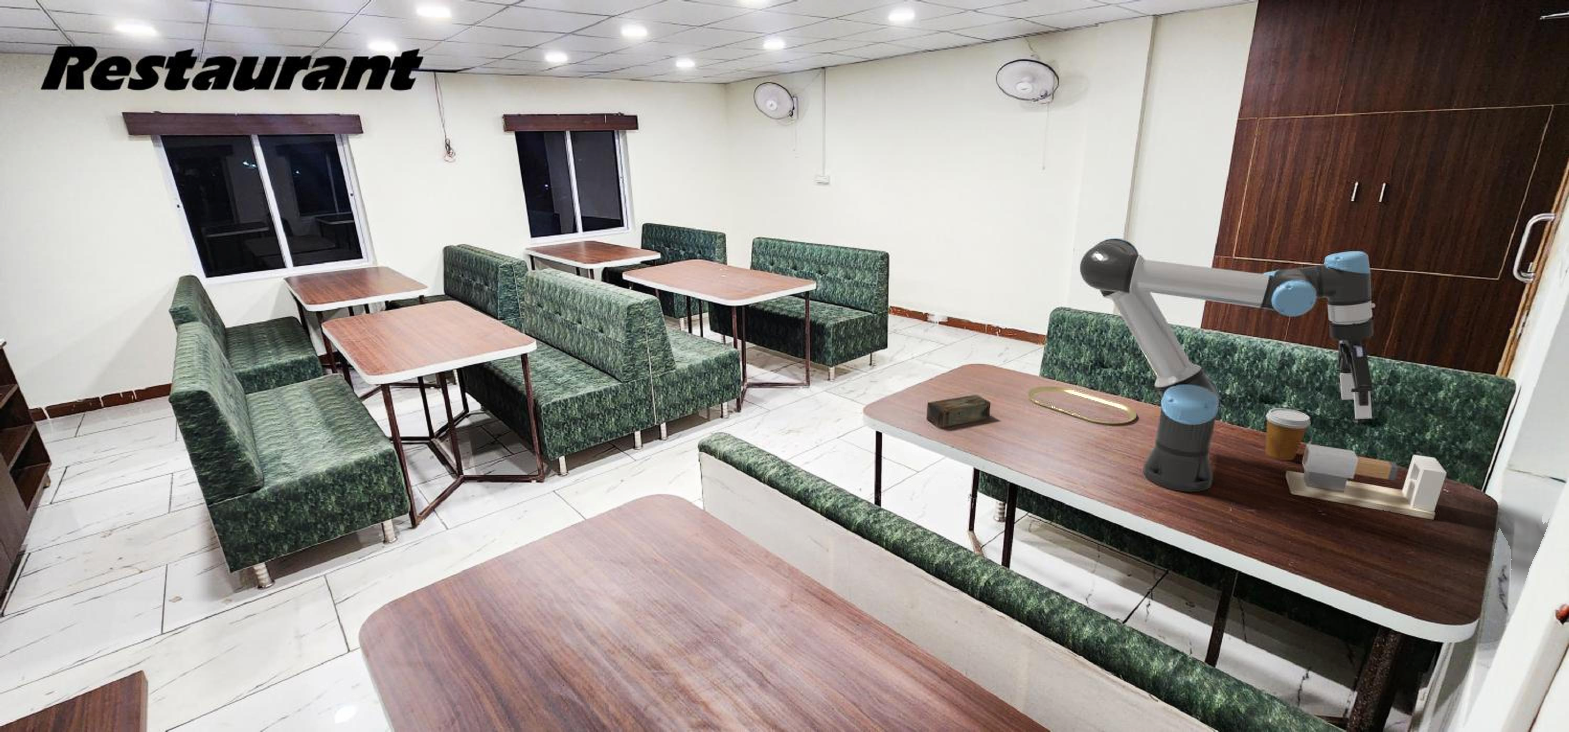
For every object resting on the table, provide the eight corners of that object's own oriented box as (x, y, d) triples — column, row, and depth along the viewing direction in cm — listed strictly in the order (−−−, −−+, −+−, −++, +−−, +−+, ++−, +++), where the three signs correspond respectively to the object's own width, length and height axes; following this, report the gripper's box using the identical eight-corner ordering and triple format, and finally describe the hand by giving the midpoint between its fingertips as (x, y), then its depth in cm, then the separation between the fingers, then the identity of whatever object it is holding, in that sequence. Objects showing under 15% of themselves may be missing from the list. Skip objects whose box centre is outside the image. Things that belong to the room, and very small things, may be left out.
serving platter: (1048, 386, 231) (1048, 382, 230) (1147, 416, 203) (1148, 411, 203) (1015, 399, 221) (1015, 394, 220) (1115, 432, 193) (1115, 427, 193)
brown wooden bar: (1310, 466, 156) (1313, 454, 155) (1308, 461, 158) (1311, 449, 157) (1394, 480, 148) (1398, 468, 147) (1391, 474, 151) (1394, 462, 150)
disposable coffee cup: (1309, 464, 170) (1319, 422, 166) (1268, 462, 172) (1277, 420, 168) (1290, 448, 179) (1299, 408, 175) (1251, 446, 180) (1260, 406, 177)
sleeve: (1301, 485, 157) (1309, 451, 154) (1298, 476, 161) (1306, 443, 158) (1348, 493, 153) (1358, 459, 150) (1344, 484, 157) (1353, 450, 154)
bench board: (1291, 493, 156) (1292, 488, 156) (1285, 475, 164) (1287, 470, 164) (1433, 519, 144) (1435, 513, 144) (1419, 498, 152) (1421, 493, 152)
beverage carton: (990, 419, 205) (992, 400, 203) (938, 429, 199) (939, 410, 197) (975, 410, 212) (976, 391, 210) (924, 420, 206) (925, 401, 204)
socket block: (1411, 507, 146) (1423, 469, 143) (1402, 491, 153) (1413, 454, 150) (1433, 511, 144) (1446, 472, 141) (1423, 495, 151) (1434, 457, 148)
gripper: (1388, 330, 135) (1393, 425, 139) (1358, 307, 156) (1363, 390, 159) (1341, 335, 139) (1347, 427, 143) (1318, 311, 160) (1324, 392, 163)
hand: (1356, 408), depth 151 cm, fingers open, 13 cm apart
